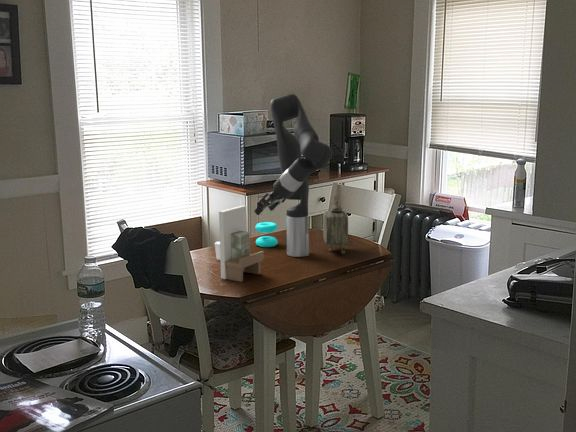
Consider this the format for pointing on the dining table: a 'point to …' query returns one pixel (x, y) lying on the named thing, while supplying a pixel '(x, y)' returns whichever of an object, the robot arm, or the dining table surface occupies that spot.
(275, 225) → the donuts
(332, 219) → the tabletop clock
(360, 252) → the dining table surface
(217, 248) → the shot glass
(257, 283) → the dining table surface
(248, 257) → the white display stand
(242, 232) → the sage cabinet
